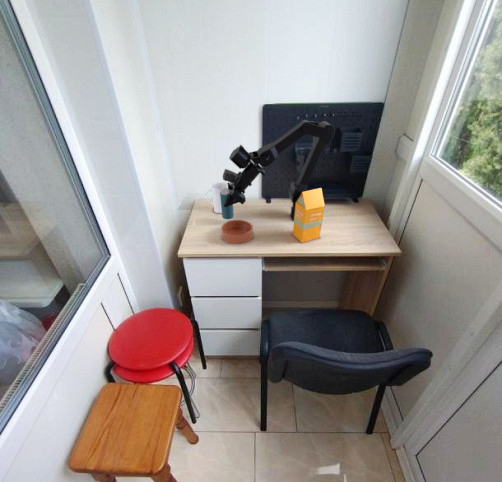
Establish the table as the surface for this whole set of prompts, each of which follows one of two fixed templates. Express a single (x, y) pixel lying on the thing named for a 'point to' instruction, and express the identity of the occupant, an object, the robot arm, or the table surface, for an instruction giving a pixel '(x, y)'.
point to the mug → (217, 195)
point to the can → (224, 195)
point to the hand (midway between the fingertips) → (223, 203)
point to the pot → (237, 231)
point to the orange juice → (308, 215)
